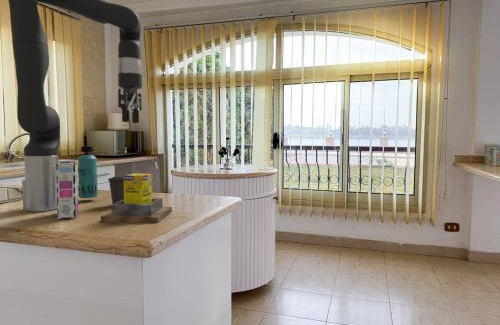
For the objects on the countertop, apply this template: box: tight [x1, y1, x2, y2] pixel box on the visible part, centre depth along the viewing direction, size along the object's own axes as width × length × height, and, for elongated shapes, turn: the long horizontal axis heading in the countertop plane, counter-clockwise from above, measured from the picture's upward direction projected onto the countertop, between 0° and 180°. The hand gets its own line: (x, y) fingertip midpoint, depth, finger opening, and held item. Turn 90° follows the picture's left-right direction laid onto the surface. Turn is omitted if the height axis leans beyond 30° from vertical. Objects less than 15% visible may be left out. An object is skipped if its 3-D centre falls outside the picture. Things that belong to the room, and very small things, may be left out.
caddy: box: [100, 197, 173, 224], centre depth 101 cm, size 16×14×4 cm
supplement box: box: [123, 172, 153, 204], centre depth 101 cm, size 6×6×11 cm
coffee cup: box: [107, 174, 125, 205], centre depth 117 cm, size 8×8×10 cm
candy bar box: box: [56, 159, 79, 221], centre depth 102 cm, size 11×5×16 cm, turn 23°
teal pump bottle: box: [77, 145, 99, 199], centre depth 125 cm, size 6×7×20 cm
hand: (130, 122), depth 116 cm, fingers open, 8 cm apart
